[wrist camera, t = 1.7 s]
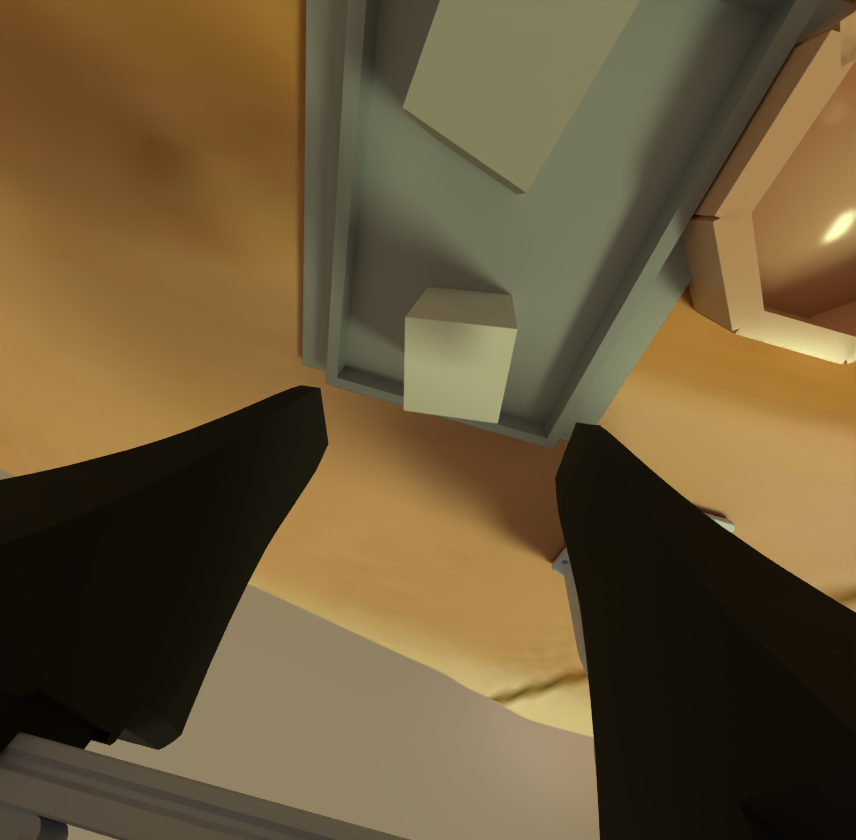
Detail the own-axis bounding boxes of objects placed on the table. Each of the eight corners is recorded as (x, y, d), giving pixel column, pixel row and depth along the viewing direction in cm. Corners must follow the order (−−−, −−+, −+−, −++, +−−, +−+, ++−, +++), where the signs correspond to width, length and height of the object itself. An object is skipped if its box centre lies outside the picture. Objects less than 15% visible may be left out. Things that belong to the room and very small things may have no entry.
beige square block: (516, 194, 14) (526, 192, 9) (431, 136, 13) (402, 107, 9) (589, 69, 11) (642, -5, 7) (490, -8, 11) (486, -135, 7)
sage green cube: (497, 371, 18) (497, 423, 14) (424, 363, 18) (403, 410, 14) (511, 294, 16) (517, 329, 12) (428, 286, 16) (405, 317, 12)
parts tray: (580, 440, 20) (587, 459, 18) (306, 361, 20) (291, 373, 19) (855, 15, 10) (916, -16, 9) (315, -136, 10) (285, -191, 9)
